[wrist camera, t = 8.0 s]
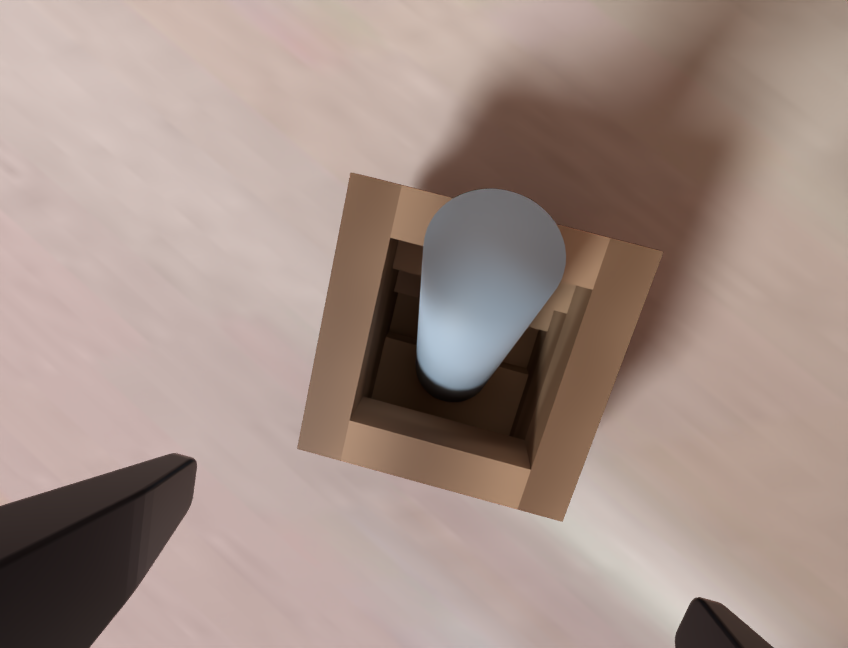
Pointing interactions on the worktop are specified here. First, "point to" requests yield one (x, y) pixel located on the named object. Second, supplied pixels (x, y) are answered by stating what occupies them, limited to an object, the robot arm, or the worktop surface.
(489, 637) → the worktop surface
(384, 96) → the worktop surface
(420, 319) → the gray dowel
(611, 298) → the leaning socket
